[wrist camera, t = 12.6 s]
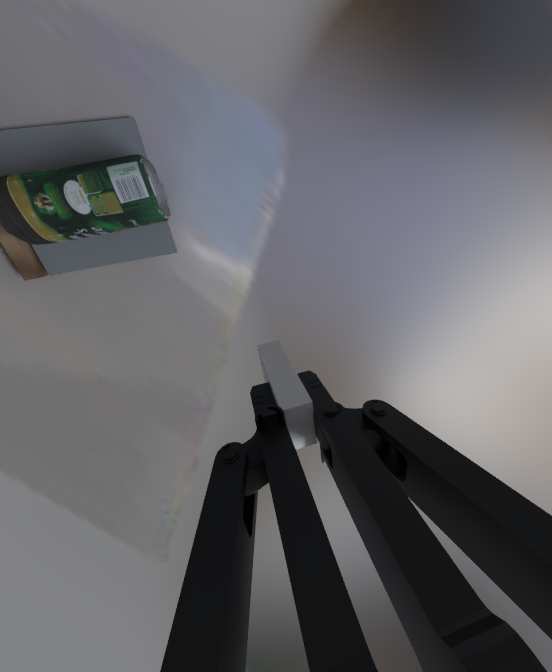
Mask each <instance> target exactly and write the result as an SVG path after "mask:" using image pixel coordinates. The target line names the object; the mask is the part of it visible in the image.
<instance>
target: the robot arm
mask: <svg viewBox="0 0 552 672" xmlns="http://www.w3.org/2000/svg"><path fill="white" fill-rule="evenodd" d="M258 351H259V356H260V360H261V365H262V369H263V374H264V379H265V382H266V383H263V384H260V385H256V386H253V387H252V389H251V392H250V394H251V399H252V404H253V408H254V413H255V422H256V426H257V430H256V433H255V434H254V436H253V437H252V438H251V439H250V440H248V441H247V442H245V443H244V444H241V443H239V442H238V443H237V442H232V443H228V444H226V445H225V446H223V447H222V448H221V449H220V450H219V451H218V452H217V455H216V457H215V460H214V464H213V468H212V472H211V476H210V480H209V484H208V488H207V492H206V495H205V499H204V503H203V507H202V511H201V515H200V519H199V523H198V527H197V530H196V535H195V538H194V542H193V546H192V550H191V554H190V558H189V562H188V566H187V570H186V573H185V577H184V582H183V585H182V589H181V593H180V597H179V601H178V605H177V609H176V612H175V617H174V620H173V624H172V628H171V632H170V636H169V640H168V644H167V648H166V652H165V655H164V659H163V663H162V667H161V671H160V672H245V669H246V653H247V640H248V626H249V625H248V624H249V611H250V597H251V582H252V568H253V553H254V538H255V525H256V510H257V495H258V490H259V489H261V488H262V487H263V486H265V485H266V484H267V483H269V484H270V489H271V493H272V498H273V503H274V508H275V512H276V517H277V522H278V526H279V531H280V535H281V540H282V545H283V549H284V554H285V559H286V563H287V568H288V573H289V577H290V582H291V586H292V591H293V595H294V600H295V605H296V610H297V614H298V619H299V624H300V628H301V633H302V637H303V642H304V646H305V651H306V656H307V660H308V665H309V669H310V672H378V671H377V669H376V666H375V664H374V662H373V659H372V657H371V654H370V651H369V649H368V646H367V644H366V641H365V638H364V635H363V632H362V630H361V627H360V624H359V621H358V619H357V616H356V613H355V611H354V608H353V605H352V602H351V600H350V597H349V595H348V591H347V589H346V586H345V583H344V581H343V578H342V575H341V572H340V570H339V567H338V564H337V562H336V559H335V556H334V553H333V550H332V548H331V545H330V542H329V540H328V537H327V534H326V531H325V529H324V526H323V523H322V521H321V518H320V515H319V512H318V510H317V507H316V504H315V501H314V499H313V496H312V493H311V490H310V488H309V485H308V482H307V480H306V477H305V474H304V471H303V469H302V466H301V463H300V460H299V458H298V455H297V452H296V449H299V448H303V447H306V446H309V445H312V444H315V443H317V439H318V441H319V443H320V450H321V459H322V462H324V459H325V461H326V464H327V466H328V467H329V470H330V472H331V474H332V476H333V478H334V481H335V483H336V485H337V487H338V489H339V491H340V493H341V495H342V498H343V500H344V502H345V504H346V506H347V508H348V510H349V512H350V515H351V517H352V519H353V521H354V523H355V525H356V527H357V530H358V532H359V534H360V536H361V538H362V540H363V542H364V545H365V547H366V549H367V551H368V553H369V555H370V557H371V560H372V562H373V564H374V566H375V568H376V570H377V572H378V574H379V577H380V579H381V581H382V583H383V585H384V587H385V589H386V592H387V593H388V596H389V598H390V600H391V602H392V604H393V607H394V609H395V611H396V613H397V615H398V617H399V619H400V621H401V624H402V626H403V628H404V630H405V632H406V634H407V636H408V638H409V641H410V642H411V645H412V647H413V649H414V651H415V653H416V655H417V658H418V660H419V662H420V665H421V667H422V670H423V672H547V671H546V670H545V668H544V667H543V666H542V664H541V663H540V661H539V660H538V659H537V657H536V656H535V655H534V653H533V652H532V651H531V649H530V648H529V647H528V646H527V644H526V643H525V642H524V641H523V639H522V638H521V637H520V636H519V635H518V633H516V631H515V630H514V629H513V628H512V627H511V626H510V625H509V624H507V623H506V622H505V621H503V620H502V619H501V618H499V617H497V616H496V615H494V614H493V613H492V612H491V611H490V610H489V609H487V607H486V606H485V605H484V604H483V602H482V601H481V600H480V598H479V597H478V596H477V594H476V593H475V591H474V590H473V589H472V587H471V586H470V584H469V583H468V582H467V580H466V579H465V577H464V576H463V574H462V573H461V572H460V570H459V569H458V567H457V566H456V565H455V563H454V562H453V561H452V559H451V558H450V556H449V555H448V553H447V552H446V550H445V549H444V548H443V546H442V545H441V543H440V542H439V541H438V540H437V538H436V537H435V535H434V534H433V532H432V531H431V530H430V528H429V527H428V525H427V524H426V522H425V521H424V520H423V518H422V517H421V515H420V514H419V512H418V511H417V510H416V508H415V507H414V505H413V504H412V503H411V501H410V500H409V498H410V499H411V500H412V501H413V502H414V503H415V504H416V505H417V506H418V507H419V508H420V509H421V510H422V511H423V512H424V513H425V514H426V515H427V516H428V517H429V518H430V519H431V520H432V521H433V522H434V523H435V524H436V525H437V526H438V527H439V528H440V529H441V530H442V531H443V532H444V533H445V534H446V535H447V536H448V537H449V538H450V539H451V540H452V541H453V542H454V543H455V544H456V545H457V546H458V547H459V548H460V549H461V550H462V551H463V552H464V553H465V554H466V555H467V556H468V557H469V558H470V559H471V560H472V561H473V562H474V563H475V564H476V565H477V566H478V567H479V568H480V569H481V570H482V571H483V572H484V573H486V575H487V576H488V577H489V578H490V579H491V580H492V581H493V582H494V583H495V584H496V585H497V586H498V587H499V588H500V589H501V590H502V591H503V592H504V593H505V594H506V595H507V596H508V597H509V598H510V599H511V600H512V601H513V602H514V603H515V604H516V605H518V607H519V608H521V609H522V611H524V613H525V614H527V615H528V617H529V618H530V619H532V620H533V622H535V623H536V624H537V625H538V626H539V627H540V628H541V629H542V630H543V631H544V632H545V633H546V634H547V635H548V636H549V637H550V638H551V639H552V516H551V515H550V514H548V513H546V512H545V511H544V510H542V509H541V508H539V507H538V506H537V505H535V504H534V503H532V502H531V501H529V500H528V499H526V498H525V497H523V496H522V495H521V494H519V493H518V492H516V491H515V490H513V489H512V488H510V487H509V486H507V485H506V484H505V483H503V482H502V481H500V480H499V479H497V478H496V477H494V476H493V475H491V474H490V473H489V472H487V471H486V470H484V469H483V468H481V467H480V466H478V465H477V464H475V463H474V462H473V461H471V460H470V459H468V458H467V457H465V456H464V455H462V454H461V453H459V452H458V451H457V450H455V449H454V448H452V447H451V446H449V445H448V444H446V443H445V442H443V441H442V440H440V439H439V438H438V437H436V436H435V435H433V434H432V433H430V432H429V431H427V430H426V429H424V428H423V427H422V426H420V425H419V424H417V423H416V422H414V421H413V420H411V419H410V418H408V417H407V416H406V415H404V414H403V413H401V412H400V411H398V410H397V409H395V408H394V407H392V406H391V405H390V404H388V403H386V402H384V401H381V400H370V401H367V402H365V404H363V408H360V409H359V408H358V409H349V408H344V407H343V406H342V405H341V404H339V403H337V402H335V401H334V400H333V399H332V397H331V396H330V394H329V393H328V392H327V390H326V388H325V387H324V386H323V384H322V383H321V381H320V380H319V378H318V377H317V375H316V374H314V373H313V372H311V371H306V372H302V373H298V374H297V373H296V371H295V370H294V368H293V366H292V364H291V362H290V360H289V359H288V357H287V355H286V353H285V352H284V350H283V348H282V346H281V345H280V343H279V341H274V342H270V343H266V344H262V345H258ZM316 437H317V439H316ZM406 495H407V496H408V497H409V498H408V497H407V496H406Z"/></svg>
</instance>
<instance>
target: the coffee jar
mask: <svg viewBox="0 0 552 672" xmlns="http://www.w3.org/2000/svg"><path fill="white" fill-rule="evenodd" d="M169 218H170V210H169V207H168V205H167V196H166V193H165V190H164V187H163V185H162V184H161V183H160V182H159V179H158V177H157V173H156V170H155V168H154V167H153V165H152V164H151V162H150V161H149V160H148V159H147V158H146V157H144V156H142V155H139V154H136V155H129V156H123V157H117V158H112V159H107V160H101V161H96V162H90V163H84V164H78V165H72V166H66V167H60V168H55V169H48V170H42V171H34V172H27V173H19V174H11V175H5V176H1V177H0V224H1V225H2V227H3V228H4V229H5V231H6V232H7V233H9V234H11V235H13V236H15V237H16V238H18V239H20V240H22V241H24V242H27V243H29V244H34V245H41V244H52V243H57V242H64V241H69V240H76V239H81V238H87V237H93V236H97V235H102V234H107V233H112V232H117V231H121V230H126V229H130V228H135V227H140V226H145V225H150V224H155V223H159V222H164V221H167V220H168V219H169Z"/></svg>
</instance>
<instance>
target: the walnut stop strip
mask: <svg viewBox="0 0 552 672" xmlns="http://www.w3.org/2000/svg"><path fill="white" fill-rule="evenodd" d="M0 242H1V244H2V245H3V247H4V249H5V250H6V252H7V253H8V255H9V257H10V258H11V260H12V261H13V263H14V264H15V266H16V268H17V269H18V271H19V272H20V274H21V276H22V277H23V279H24V280H30V279H35V278H40V277H44V276H47V275H48V273H47V271H46V270H45V268H44V266H43V264H42V263H41V261H40V259H39V258H38V256H37V254H36V252H35V251H34V249H33V247H32V245H31V244H29V243H27V242H24V241H22V240H20V239H18V238H16V237H15V236H13V235H11V234H9V233H7V232H6V231H5V229H4V228H3V227H2V225H1V224H0Z"/></svg>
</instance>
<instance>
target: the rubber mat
mask: <svg viewBox="0 0 552 672" xmlns="http://www.w3.org/2000/svg"><path fill="white" fill-rule="evenodd" d="M136 154H139V155H142V156H144V157H146V153H145V150H144V147H143V144H142V141H141V138H140V135H139V132H138V129H137V125H136V122H135V119H134V118H133V117H130V118H120V119H110V120H99V121H89V122H79V123H69V124H59V125H48V126H38V127H28V128H18V129H8V130H0V177H1V176H5V175H11V174H19V173H27V172H34V171H42V170H48V169H55V168H60V167H66V166H72V165H78V164H84V163H90V162H96V161H101V160H107V159H112V158H117V157H123V156H129V155H136ZM146 158H147V157H146ZM31 245H32V247H33V249H34V250H35V252H36V254H37V255H38V257H39V259H40V261H41V262H42V264H43V266H44V268H45V269H46V271H47V273H48V275H54V274H59V273H65V272H70V271H76V270H81V269H87V268H93V267H98V266H104V265H109V264H115V263H120V262H126V261H132V260H137V259H143V258H148V257H154V256H159V255H165V254H171V253H176V252H177V250H176V247H175V244H174V241H173V238H172V235H171V231H170V228H169V225H168V222H167V221H164V222H159V223H155V224H150V225H145V226H140V227H135V228H130V229H126V230H121V231H117V232H112V233H107V234H102V235H97V236H93V237H87V238H81V239H76V240H69V241H64V242H57V243H52V244H41V245H34V244H31Z"/></svg>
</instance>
